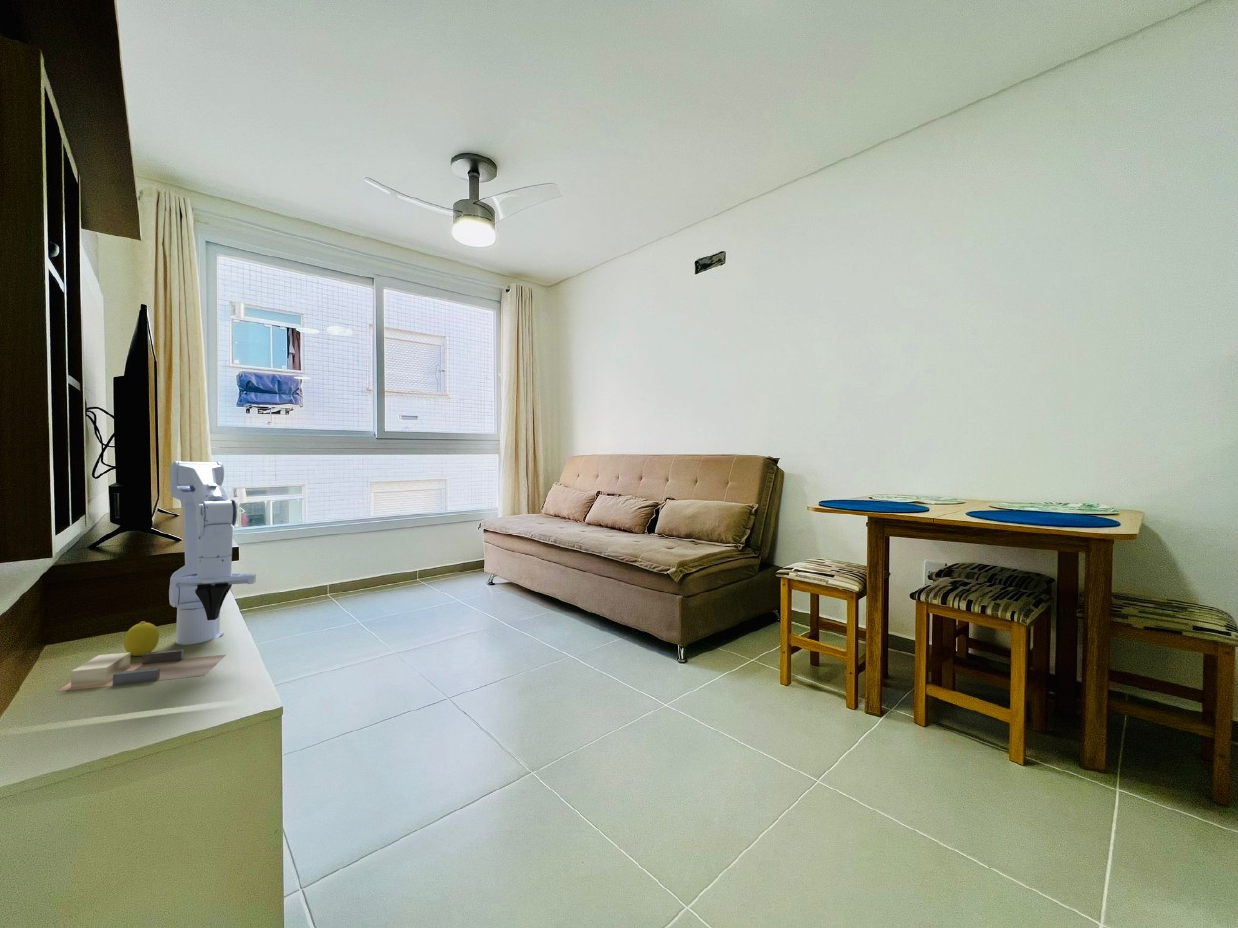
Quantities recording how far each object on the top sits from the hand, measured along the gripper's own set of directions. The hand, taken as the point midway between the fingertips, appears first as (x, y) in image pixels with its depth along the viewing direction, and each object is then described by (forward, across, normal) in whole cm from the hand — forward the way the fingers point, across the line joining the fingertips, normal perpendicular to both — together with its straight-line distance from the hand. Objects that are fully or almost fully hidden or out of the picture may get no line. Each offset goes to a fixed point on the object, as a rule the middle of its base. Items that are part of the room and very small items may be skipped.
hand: (212, 618), depth 107 cm
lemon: (+10, -15, +8) cm, 20 cm away
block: (+9, -16, -4) cm, 19 cm away
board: (+9, -9, -4) cm, 14 cm away
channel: (+9, -9, -4) cm, 14 cm away
